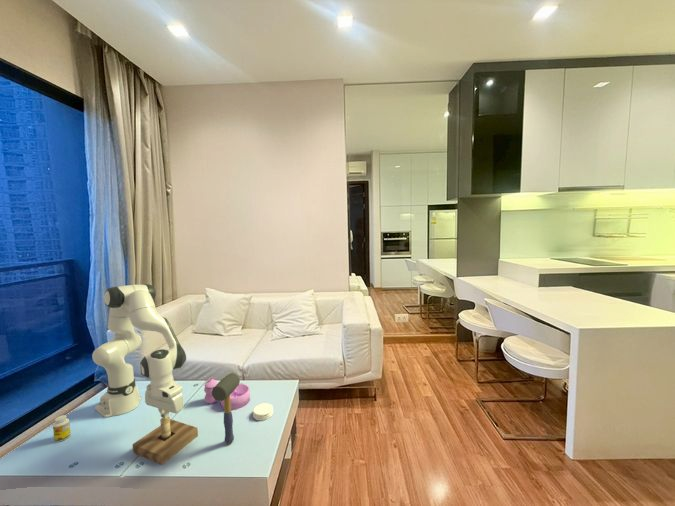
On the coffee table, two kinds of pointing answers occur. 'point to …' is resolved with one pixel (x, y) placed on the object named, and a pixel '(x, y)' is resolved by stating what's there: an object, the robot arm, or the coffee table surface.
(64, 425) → the supplement bottle
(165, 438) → the maple dowel
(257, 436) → the coffee table surface
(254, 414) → the cream round disc
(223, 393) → the rubber mallet
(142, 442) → the walnut board
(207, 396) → the container set
